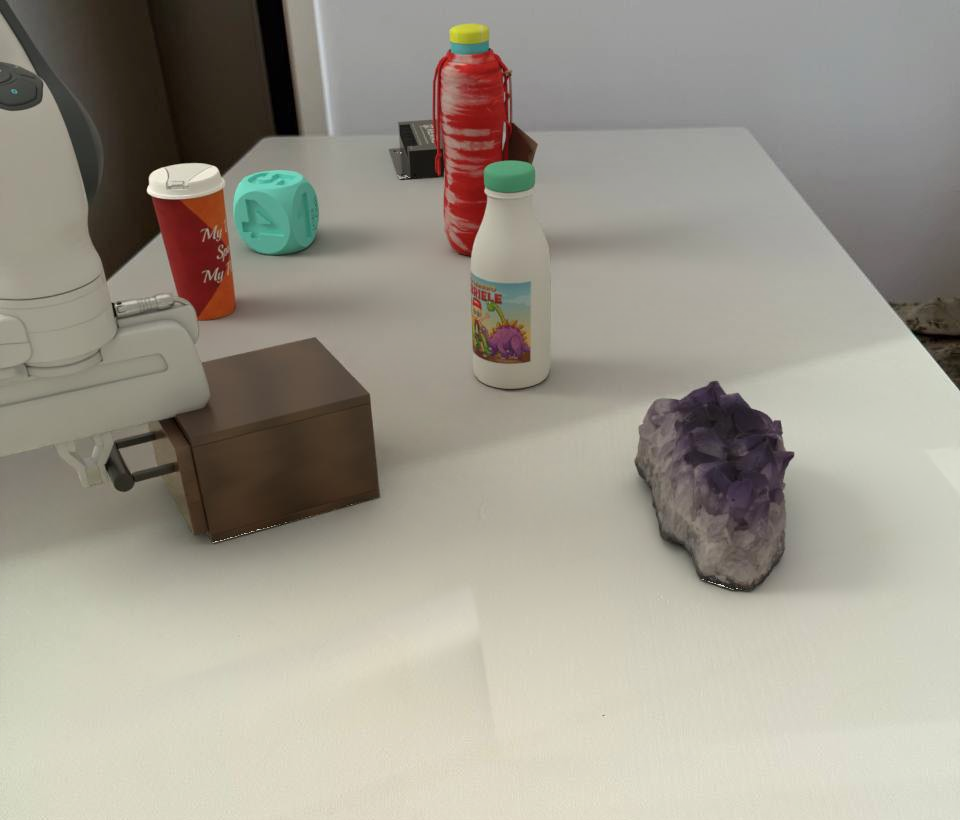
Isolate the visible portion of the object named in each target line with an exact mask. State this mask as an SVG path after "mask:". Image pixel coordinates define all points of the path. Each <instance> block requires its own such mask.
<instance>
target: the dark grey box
mask: <svg viewBox="0 0 960 820" xmlns="http://www.w3.org/2000/svg"><path fill="white" fill-rule="evenodd" d="M435 120H436V136H437V118H435ZM397 125H398V138H399V147H395V148H389V149H388V151H389V154H390V158H391V161H392V164H393V167H394V170H395V174H396V176H397V175H399V176H402V175H401V174H404V175H407V176H408V177H410V178H416V179H424V178H423V177H429V178H438V177H437V176H441V177H444V154H443V141H442V134H441V126H440V151H441V152H442V156H441V157H440V167H441V175H438V173H436V169H435V157H436V154H437V148H436V146H435V143H434V130H433V119H421V120H409V121H408V120H407V121H398V124H397ZM396 151H397V152H398V153H397V152H396ZM400 152H402V153H401V154H400ZM404 175H403V177H405V176H404ZM408 177H406V178H408Z"/></svg>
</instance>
